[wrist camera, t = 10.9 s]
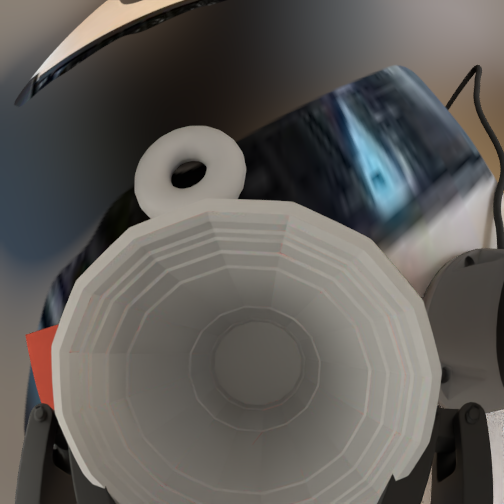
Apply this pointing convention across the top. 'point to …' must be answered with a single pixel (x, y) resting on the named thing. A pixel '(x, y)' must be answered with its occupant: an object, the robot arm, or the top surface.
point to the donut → (182, 151)
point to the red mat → (42, 362)
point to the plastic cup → (244, 361)
